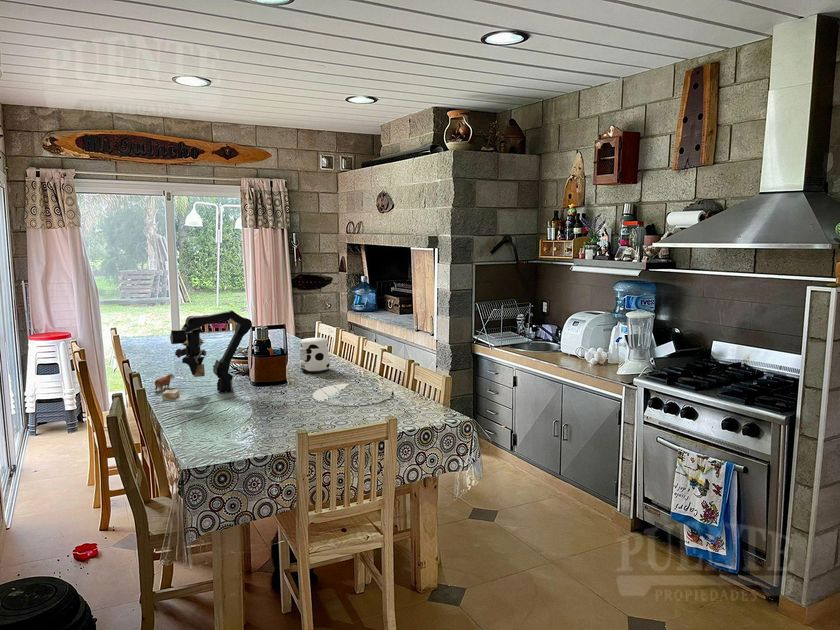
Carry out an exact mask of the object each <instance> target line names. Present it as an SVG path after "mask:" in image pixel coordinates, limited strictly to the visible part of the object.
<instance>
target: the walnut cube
mask: <svg viewBox="0 0 840 630" xmlns="http://www.w3.org/2000/svg"><path fill="white" fill-rule="evenodd" d="M205 372H206V371H205V363H202V364H198V366H197V370H196V373H195V375H193V377H194V378H198V377H199V378H200V377H206V374H205Z"/></svg>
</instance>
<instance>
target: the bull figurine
mask: <svg viewBox="0 0 840 630" xmlns="http://www.w3.org/2000/svg"><path fill="white" fill-rule="evenodd" d="M175 378H176V376H175V375H174V374H173V373H172V372H169V373H167V374H165V375H164V376H162V377H160V378H157V379H155V381H154V387H155V388H154V390H155V392H158V389H159V392H161V391H162V392H164V389H163V388H167V389H169V388H170V387H169V386H170V383H171V381H172V380H173V379H175Z"/></svg>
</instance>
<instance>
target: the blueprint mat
mask: <svg viewBox="0 0 840 630" xmlns="http://www.w3.org/2000/svg"><path fill="white" fill-rule="evenodd" d="M190 396H191V394H180V396H179V397H178V398H176V399H164V400H162V398H161V399H159V400H158V401H159V402H163V401H165V402H168V401H169V402H170V401H174V402H175V401H186V400H187V399H188V398H189V397H190Z"/></svg>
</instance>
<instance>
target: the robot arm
mask: <svg viewBox="0 0 840 630" xmlns="http://www.w3.org/2000/svg"><path fill="white" fill-rule="evenodd" d="M226 320H231V321H233V322H234V323H236V324H235V330H234V334H233V336H232V337H231V340H230V342H229V343H228V345H227V347H226V350H225V351H224V353H223V355H222V357H221V359H216V360H215V363H214V365H213V366H212V373H213V374H214V375H215V376H216V377H217V378H218V379H217V382H216V389H217V391H218V393H231V392H233V390H234V387H233V377H234V376H233V375H232V374H231V373H229V370H230V368H231V367H230V366H231V361H232V359H233V358H234V356H235V354H236V351H237V349H238V347H239V345H240V344H241V341H242V339H243V338H244V336H245V335H247V334H248V333H249V331H250V330H251V328H252V326H253V323H252V320H251V319H249V318H247V317H243V316H241V315H239V314H238V313H237V312H235V311H233V310H232V309H228V310H226V311H221V312H218V313H212V314H207V315H206V314H205V315H190V316H187V317H186V319H185V323H184V324H183V326H182V327H181V328H180V329H171V330H170V336H169V339H170V344H171V345H179V344H181V345H182V344H183V343H185V342H186V341H188V344H185V347H184V348H177V349H176V350H175V356H176V357H177V358H178V359H180V358H181V357H182V359H181V362H182V364H186V365H187V366H188V367H189V369H190V372H191V374H192V376H194V375H195V373H196V370H197V366H198V364H203V362H204V359H205V357H206V356H207V351H206V349H201V346H202V344H203V343H202V342H200V339H201V335H200V333H203V334H204V333H205V331H204V330H203V329H202V327H204V326H206V325H208V324H212V323H217V322H221V321H226ZM197 328H198V329H197ZM193 329H194V330H193ZM186 334H187V335H186ZM183 356H184V357H183Z"/></svg>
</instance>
